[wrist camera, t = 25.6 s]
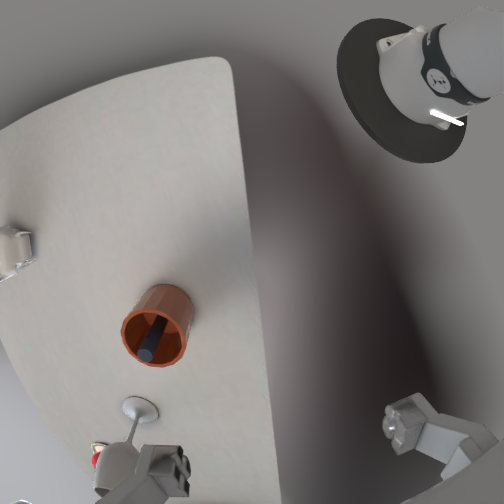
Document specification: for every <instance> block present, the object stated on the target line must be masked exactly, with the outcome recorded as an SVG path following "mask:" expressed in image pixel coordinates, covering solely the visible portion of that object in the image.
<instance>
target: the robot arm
mask: <svg viewBox="0 0 504 504" xmlns="http://www.w3.org/2000/svg"><path fill="white" fill-rule="evenodd" d="M376 46H377V50H378V53H379V56H380V62H379V74H380V79H381V83H382V85H383V88H384V90H385V92H386V94H387V96H388V97H389V99H390V100H391V102H392V103H393V104H394V106H395V107H396V108H397V109H398V110H399V111H400V112H401V113H402V114H404V115H405V116H406V117H408V118H409V119H411V120H413V121H415V122H417V123H421V124H430V125H433V126H435V127H436V128H438V129H440V130H443V131H444V130H446V129H448V128H449V126H450V124H451V122H453V123H455V124H457V125H463V123H462V122H460V121H457V120H455V119H457V118H460V117H463V116H466V115H468V114H469V110H470V109H471V106H472V105H477V104H480V103H483V102H484V101H487V100H489V99H490V97H493V96H497V95H502V94H504V11H494V10H492V9H490V8H486V7H476V8H474V9H473V10H471V11H469V12H467V13H465V14H464V15H462V16H460V17H458V18H456V19H455V20H453V21H452V22H450V23H448V24H441V25H439V26H436V27H434V28H432V29H431V30H430V31H428V30H427V29H426V28H425V26H424V25H419V26H417V27H416V28H414V29H412V30H410V31H409V32H408V33H403V34H399V35H395V36H391V37H387V38H383V39H380V40H379V41H377V42H376ZM385 413H386V414H387V415H386V416H385V417H384V418H383V423H382V425H383V431H384V433H385V435H386V437H387V438H389V439H391V440H392V444H391V445H392V447H393V449H394V450H395V452H396V454H397V455H400V454H402V453H404V452H407V451H409V450H411V449H413V448H415V449H417V450H419V451H420V452H423V453H425V454H427V455H429V456H431V457H433V458H435V459H437V460H439V461H441V462H443V463H446V464H447V465H446V466H445V468H444V470H443V471H442V473H441V477H442V478H443V480H444V481H442V482H441V483H439V484H437V485H436V486H434V487H432V488H430V489H428V490H426V491H425V492H423V493H421V494H419V495H417V496H415V497H413V498H411V499H409V500H406V501H405V502H402V503H400V504H504V438H503V439H502V440H501V441H500V442H499V441H498V440H497V438H496V437H495V436H494V435H493V434H492V433H491V432H490V431H489V430H488V429H487V427H486V426H485V425H482V424H478V423H474V422H470V421H467V420H463V419H459V418H456V417H452V416H449V415H445V414H442V413H441V414H438V413H437V412H436V411H435V410H434V409H433V407H432V406H431V405H430V404H429V403H428V402H427V401H426V399H425V398H424V397H423V396H422V395H421V394H420V393H416V394H414V395H412V396H409V397H406V398H404V399H402V400H399V401H397V402H394V403H392V404H389V405H388V406H387V407H386V408H385ZM190 475H191V468H190V462H189V460H188V458H187V456H185V455H183V449H182V447H181V446H169V445H143V447H142V448H141V452H140V456H139V459H138V463H137V467H136V470H135V474H131V475H129V476H128V477H127V478H126V479H125V480H123V481H122V482H121V483H120V484H119V485H117V486H116V487H115V488H114V489H112V490H111V491H110V492H109V493H107V494H106V495H105V496H103V497H102V498H101V499H100V500H98V501H97V502H96V503H95V504H164V503H165V502H166V500H167V499H168V498H169V497H189V487H190V484H189V483H188V481H187V479H188V478H189V477H190ZM12 504H31V503H29V502H27V501H22V500H20V501H17V502H14V503H12Z"/></svg>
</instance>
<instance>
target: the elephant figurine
mask: <svg viewBox="0 0 504 504" xmlns="http://www.w3.org/2000/svg"><path fill="white" fill-rule="evenodd" d="M9 228H10V227H9V226H8V225H6V226H3V227H0V275H1V276H3V277H1V278H0V282H2V281H4V280H5V279H7V278H8V277H10V276H14V275H16V274H17V271H16V270H17V269H18V268H20V267H21V266H22V265H24V266H25V265H27V264H30V263H32V262H33V261H35V260H36V259H34V260H32V261H30V262H25V261H27V260H29V259H31V258H32V250H31V245H30V237H29V235H26V234H25V233H32V232H26V231H24V232H20V230H18V229H9ZM21 234H22V235H21Z"/></svg>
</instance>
